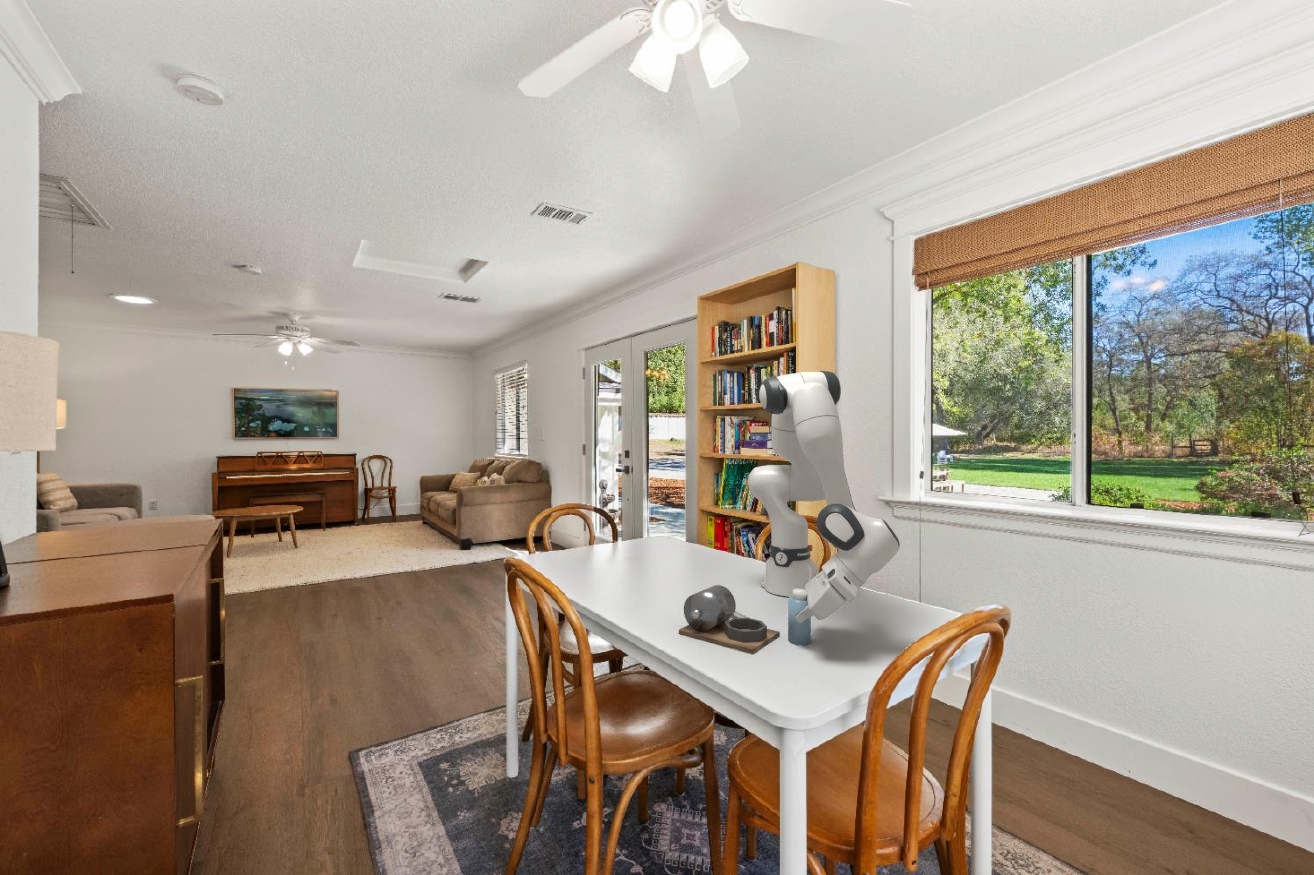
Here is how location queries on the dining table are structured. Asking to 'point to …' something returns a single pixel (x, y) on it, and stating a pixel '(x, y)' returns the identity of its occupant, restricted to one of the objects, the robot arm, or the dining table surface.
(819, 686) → the dining table surface
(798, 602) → the blue plastic bottle
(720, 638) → the base plate
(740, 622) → the collar
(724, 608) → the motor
